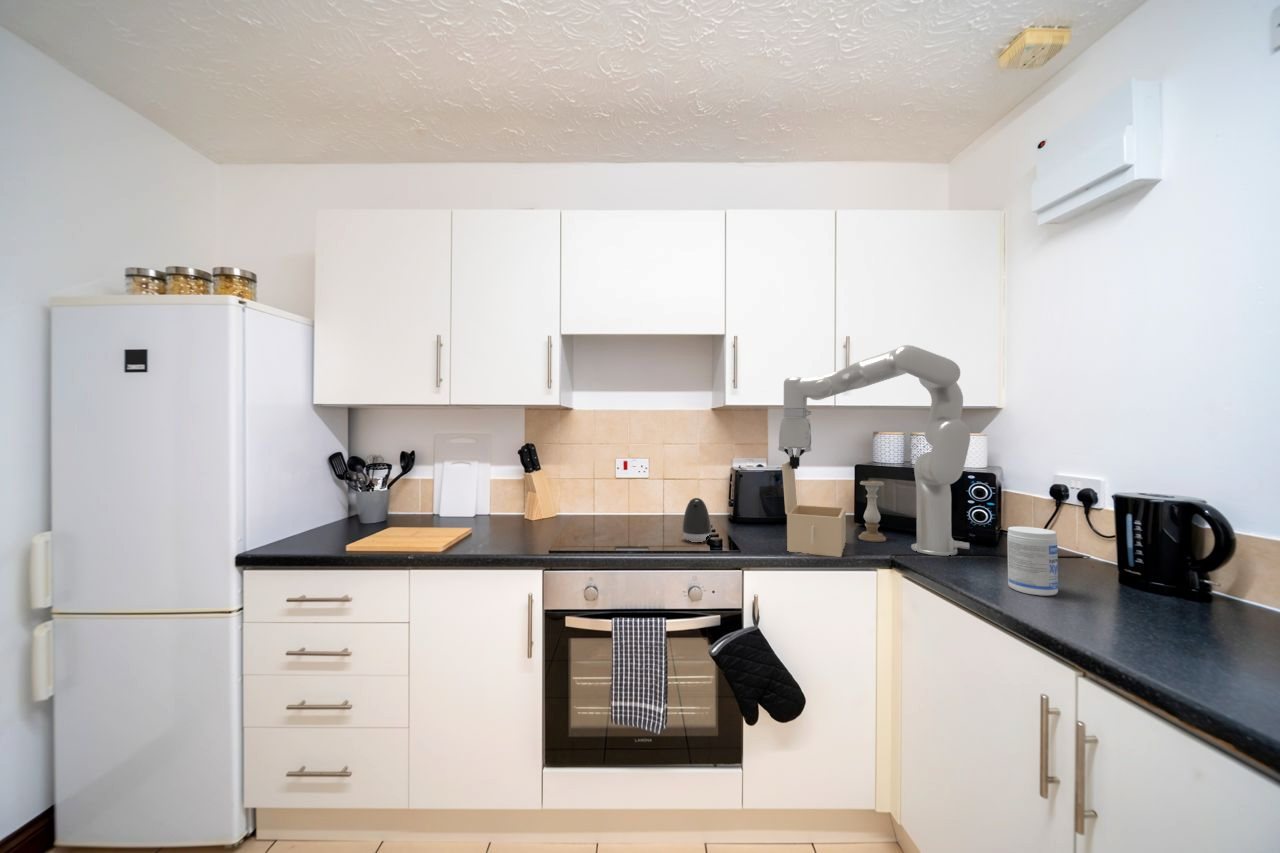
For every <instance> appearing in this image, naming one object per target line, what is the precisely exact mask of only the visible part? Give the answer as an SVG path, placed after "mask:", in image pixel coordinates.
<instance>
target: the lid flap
mask: <svg viewBox="0 0 1280 853" xmlns="http://www.w3.org/2000/svg"><path fill="white" fill-rule="evenodd" d="M781 470H782V482H783V484H782V485H783V497H784V498H783V500H784V512H785V515H787V514H788V513H789V512H790V511H791V510H792V509H793V508H794V507H795V506H796V505H798V503H797V502H798V501H797V487H796V486H797V485H796V472H795V469H791V466H790V460H789V461H786V462H784V463H782V464H781Z"/></svg>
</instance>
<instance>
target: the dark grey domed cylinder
mask: <svg viewBox="0 0 1280 853" xmlns="http://www.w3.org/2000/svg"><path fill="white" fill-rule="evenodd" d="M681 531H682V533H683V534H682V535H683V536H684V538H685V540H686V541H688V540H690V541H705V540H706V537H707V536H709V535H710V536H711V533H712V523H711V518H710V514H709V511H708V507H707V506H706V504H705V502H704V501H703V500H702V499H701V498H699V497H694V498H691V499H690V500H689V502H688V504H687V505H686V508H685V512H684V515H683V520H682V526H681ZM710 536H709V537H710ZM706 541H707V540H706ZM706 541H705V542H706Z"/></svg>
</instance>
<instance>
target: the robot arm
mask: <svg viewBox="0 0 1280 853" xmlns="http://www.w3.org/2000/svg"><path fill="white" fill-rule="evenodd" d="M906 374H908V375H910V376H914V377H915V378H918V381H919V383H920V384H921V386H922V387H924V388H925V389H926V390H927V391H928V393H929V395H930V398H931V399H930V400H931V403H930V409H929V410H930V411H929V415H928V420H927V424H926V427H925V431H924V439H925V441H926V443H928V445H930V446H932V447H931V449H930V450H931V451H927V452H924V453H922V454H920V456H918V457H917V458H916V459H915V462H914V466H913V472H914V478H915V487H916V488H915V489H916V542H915V543H912V544H911V545H910V546H911V550H912V551H914V552H916V551H917V552H916V553H920V554H925V555H930V556H941V557H942V556H944V557H945V556H946V557H947V556H949V555H951V556H955V555H957V554H958V549H963V550H964V549H965V550H969V549H970V542H966V541H965V542H964V541H959V540H954V538H953V537H952V491H951V490H952V489H951V485H952V484H954V483H955V482H957V481H958V480H959V479H960V478H961V477H962V475H963V471H964V468H965V466H966V461H967V456H968V451H969V447H970V443H971V432H970V429H969V426H968V425H967V424H966V423H965V422H964V421H963V420H961V419H962V412H963V406H964V396H963V392H962V390H961V387H960V385H959V384H958V381H959V379H960V377H961V369H960V366H959V365H958V364H957V363H956V362H955V361H954V360H952V359H950V358H947V357H944V356H942V355H940V354H936V353H934V352H931V351H929V350H926V349H923V348H920V347H918V346H914V345H909V344H905V345H901V346H899V347H897V348H895V349H893V350H890V351H889V350H888V351H887V352H884V353H880V354H877V355H875V356H872V357H869V358H866V359H865V358H864V359H862V360H859V361H856V362H853V363H852V364H850V365H848V366H847V367H844V368H842V369H840V370H837V371H834V372H832V373H829V374H826V375H823V376H819V375H818V376H817V375H816V376H813V377H812V376H811V377H801V376H799V377H798V376H797V377H795V376H793V377H787V378H786V379H784V381H783V415H782V416H783V417H782V418H781V420H780V424H779V434H778V445H779V446H778V449H777V450H778V451H780V452H784V453H785V454H786V455H787V456H788V457H789V461H790V466H791V469H794V470H797V469H798V468H799V467H800V464H801V463H800V460H801V458H800V457H801V456H802V455H803V454H804V453H808V452H812V446H811V445H812V428H811V427H812V426H811V422H810V421H811V420H810V418H808V416H811V415H812V410H808V406H807V405H808V398H809V399H811V400H814V401H821V400H825V399H826V398H830V397H833V396H836V395H839V394H841V393H846V392H849V391H853V390H857V389H862V388H865V387H868V386H871V385H874V384H877V383H881V382H884V381H886V380H890V379H893V378H897V377H900V376H903V375H906ZM794 449H796V452H795V454H794Z"/></svg>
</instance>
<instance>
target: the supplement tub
mask: <svg viewBox="0 0 1280 853" xmlns="http://www.w3.org/2000/svg"><path fill="white" fill-rule="evenodd" d="M1006 538H1007V542H1006V543H1007V583H1008V586H1009V587H1010V588H1011V589H1013V590H1015V591H1017V592H1020V593H1023V594H1027V595H1028V594H1029V595H1035V596H1042V597H1043V596H1047V597H1048V596H1049V597H1050V596H1056V595H1057V594H1058V592H1059V562H1058V559H1059V558H1058V553H1059V552H1058V551H1059V550H1058V537H1057V532H1056V531H1054V530H1052V529H1046V528H1042V527H1033V526H1009V527H1008V528H1007V537H1006Z"/></svg>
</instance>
